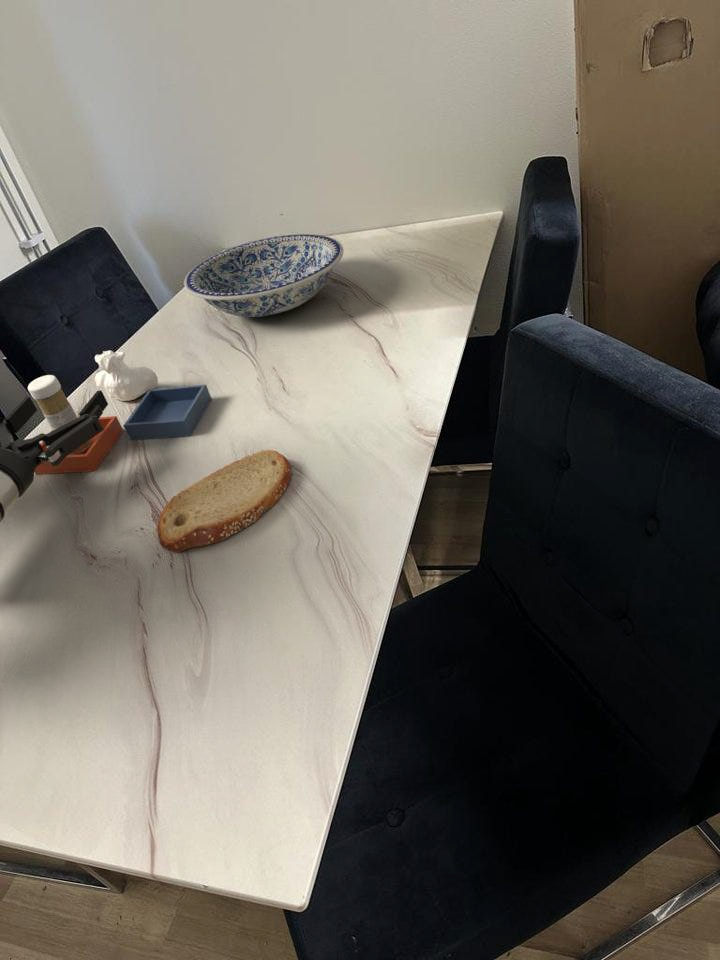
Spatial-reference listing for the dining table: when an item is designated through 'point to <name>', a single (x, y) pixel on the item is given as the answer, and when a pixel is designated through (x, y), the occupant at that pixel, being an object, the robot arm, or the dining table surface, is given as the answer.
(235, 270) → the ceramic bowl
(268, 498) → the slice of bread
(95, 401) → the robot arm
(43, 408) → the sprinkles bottle
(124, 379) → the white animal figurine
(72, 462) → the terracotta tray
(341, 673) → the dining table surface
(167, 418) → the slate tray
